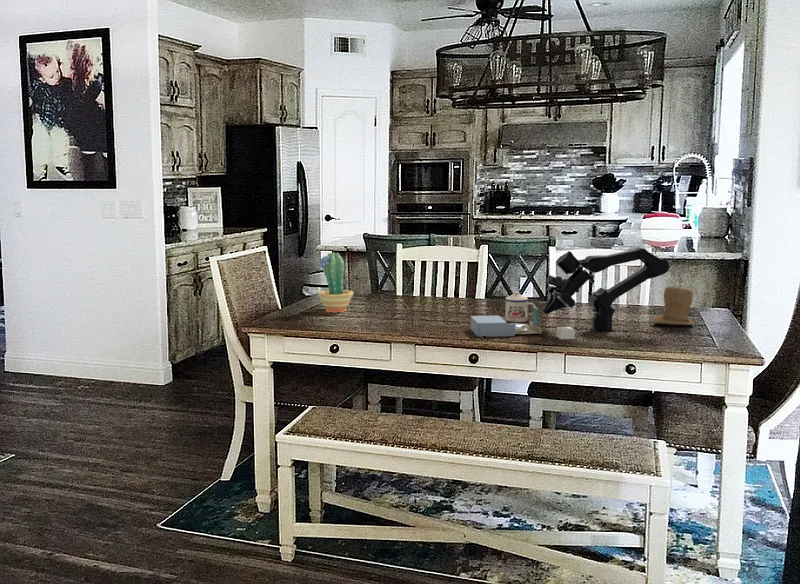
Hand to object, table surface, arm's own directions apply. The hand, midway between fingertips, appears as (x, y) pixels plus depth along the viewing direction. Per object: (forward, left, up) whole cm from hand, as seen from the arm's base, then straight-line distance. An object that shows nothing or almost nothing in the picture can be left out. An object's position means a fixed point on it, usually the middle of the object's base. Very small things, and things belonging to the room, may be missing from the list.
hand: (544, 312), depth 290 cm
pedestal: (-4, +12, -7) cm, 15 cm away
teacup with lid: (+4, -22, -7) cm, 23 cm away
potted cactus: (+77, -52, -7) cm, 93 cm away
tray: (+10, 0, -7) cm, 12 cm away
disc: (+11, 0, -6) cm, 12 cm away
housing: (+19, 0, -7) cm, 20 cm away
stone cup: (-53, -8, -7) cm, 54 cm away
